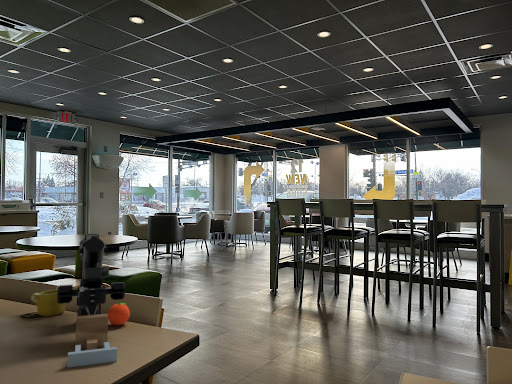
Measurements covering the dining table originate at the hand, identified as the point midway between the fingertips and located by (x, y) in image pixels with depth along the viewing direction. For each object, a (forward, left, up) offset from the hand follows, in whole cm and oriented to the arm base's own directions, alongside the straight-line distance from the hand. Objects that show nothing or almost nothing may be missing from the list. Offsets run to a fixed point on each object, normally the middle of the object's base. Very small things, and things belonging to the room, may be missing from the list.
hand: (91, 317), depth 111 cm
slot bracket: (+7, +13, -7) cm, 16 cm away
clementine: (-15, -8, -7) cm, 18 cm away
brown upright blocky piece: (+4, +7, -7) cm, 10 cm away
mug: (-6, -40, -7) cm, 41 cm away
